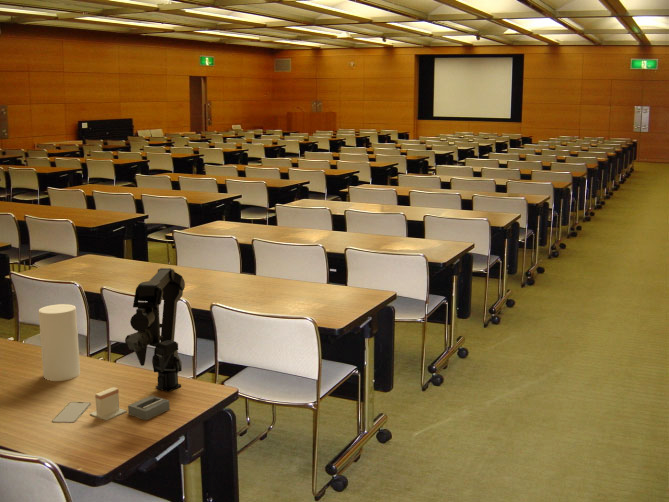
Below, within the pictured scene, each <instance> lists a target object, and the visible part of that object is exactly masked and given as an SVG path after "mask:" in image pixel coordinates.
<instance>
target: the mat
mask: <svg viewBox="0 0 669 502" xmlns="http://www.w3.org/2000/svg"><path fill="white" fill-rule="evenodd" d="M127 411H128V410H126V409H123V408H120V407H119V410H116V411H114V412H112V413H109V414H107V415H105V416H102V417H101V416H98V415H97V413H96V410H95V411H92V412H90V413H89V415H90V416H92V417H95V418H97V419H101V420H103V421H106V422H107V421H109V420H111V419H114V418H115V417H118V416H120V415H123V414H125V413H128V412H127Z"/></svg>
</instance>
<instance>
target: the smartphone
mask: <svg viewBox="0 0 669 502" xmlns="http://www.w3.org/2000/svg"><path fill="white" fill-rule="evenodd" d="M91 405H92V402H87V401H86V402H85V401H83V402H81V401H79V402H78V401H70V402H68V404H66V406H65V407H63V408H62V410H61V411H60V412H59V413H58V414H57V415H56V416H55V417H54V418H53V419H52V421H51V423H54V424H55V423H59V424H62V423H63V424H64V423H65V424H67V423H68V424H71V423H72V424H74V423H75V422H76V421H78V419H79V418H80V417H81V416H82V415H83V414H84V413H85V412H86V411H87V410H88V409H89V407H90V406H91Z"/></svg>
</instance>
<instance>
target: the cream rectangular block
mask: <svg viewBox="0 0 669 502" xmlns="http://www.w3.org/2000/svg"><path fill="white" fill-rule="evenodd" d="M119 393H120V391H119V388H117V387H114V386H113V387H110V388H108V389H104V390H103V391H100V392H98V393H95V395H94V397H95V398H94V399H95V409H96V410H95V411H96V413H97V415H98V416H101V417H102V416H105V415H107V414H109V413H112V412H114V411H116V410H119V408H120V397H119V395H120V394H119Z"/></svg>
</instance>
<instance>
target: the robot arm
mask: <svg viewBox="0 0 669 502" xmlns="http://www.w3.org/2000/svg"><path fill="white" fill-rule="evenodd" d="M184 279H185V278H183V275H181V274H180V273H178V272H176V271H175V269H174V268H171V267H161V268H159V269H157V272H156V273H155V274H154V275H153V276H152V277H151V278H150V279H149V280H146V281H141V282H140V283H139V284H138V285H137V286H136V288H135V292H134V298H133V303H132V304H133V305H132V308H135V313H134V314H132V316H131V318H130V320H129V321H130V326H131V328H132V329H133V330H134V331H136V332H134V333H131V334H128V335H126V336H125V339H124V343H125V345H127V347H128V348H129V350H131V351H132V350H134V353H135V354H136V357H137V359H138V362H139V365H140V366H141V367H143V366H145V363H146V357H147V352H148V351H147V349H148V346H150V347H154V349H153V351H154V353H153V356H152V359H151V362H152V363H151V364H152V368H153V372H154V373H157V385H156V386H155V389H157V390H158V389H159V390H160V391H165V392H171V391H174V390H176V389H178V388H180V387H182V384H181V383H179V376H178V373H180V372H182V371H183V369H182V367H183V366H182V365H183V363H182V361H181V358H180V356H179V351H178V350H179V343H178V342H177V341H175V332H176V323H177V322H176V320H177V309H178V308H177V307H178V302H179V301H180V299H181V298H182V296H183V293H184V290H185V287H186V281H185V280H184ZM162 301H163V307H162V317H161V318H162V319H161V321H160V305H162ZM160 322H161V323H160Z"/></svg>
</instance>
